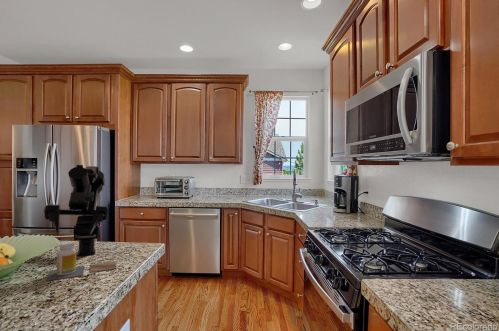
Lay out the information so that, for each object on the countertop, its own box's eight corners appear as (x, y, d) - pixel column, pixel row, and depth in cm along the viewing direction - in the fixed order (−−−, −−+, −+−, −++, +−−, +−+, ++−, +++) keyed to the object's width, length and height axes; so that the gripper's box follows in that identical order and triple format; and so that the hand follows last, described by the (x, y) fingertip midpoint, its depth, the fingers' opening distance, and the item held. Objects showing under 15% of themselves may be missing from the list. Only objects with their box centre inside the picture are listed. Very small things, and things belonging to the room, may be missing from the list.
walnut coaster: (90, 265, 99) (90, 264, 99) (115, 262, 103) (115, 261, 103) (90, 272, 92) (90, 271, 92) (116, 268, 96) (116, 267, 96)
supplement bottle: (79, 270, 94) (80, 241, 94) (67, 276, 88) (68, 246, 89) (65, 269, 94) (65, 241, 95) (52, 275, 89) (53, 245, 89)
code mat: (50, 270, 93) (50, 270, 93) (84, 266, 98) (84, 265, 98) (45, 281, 85) (45, 280, 85) (82, 275, 89) (82, 275, 89)
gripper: (48, 180, 91) (36, 221, 81) (110, 184, 99) (106, 222, 90) (50, 199, 98) (40, 239, 88) (108, 201, 106) (104, 238, 97)
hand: (73, 234), depth 91 cm, fingers open, 9 cm apart
